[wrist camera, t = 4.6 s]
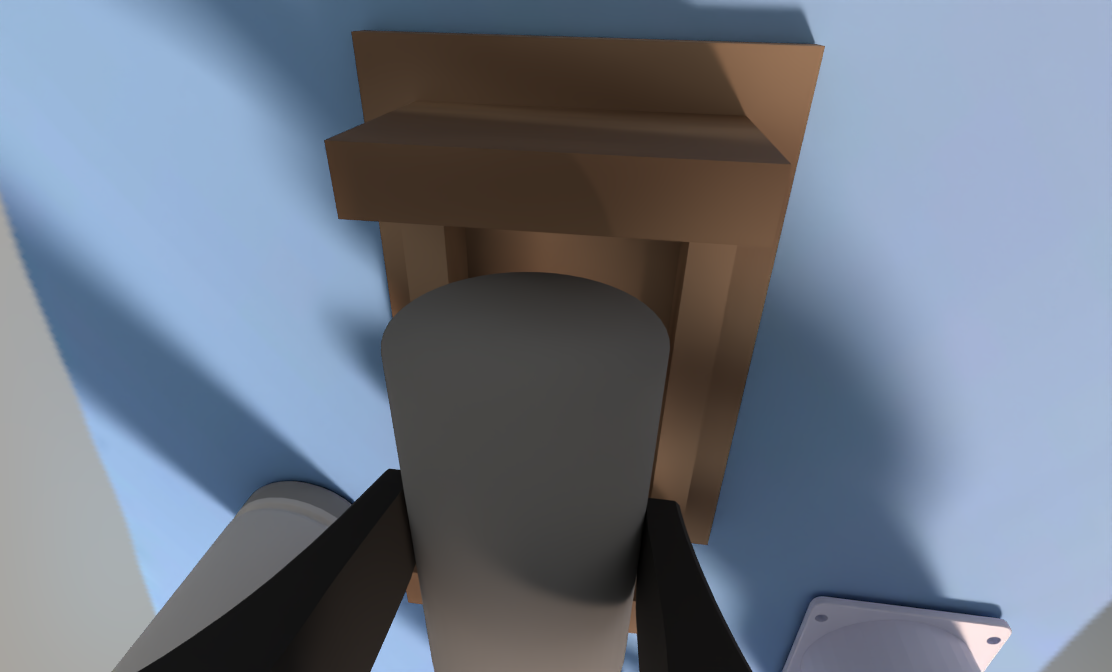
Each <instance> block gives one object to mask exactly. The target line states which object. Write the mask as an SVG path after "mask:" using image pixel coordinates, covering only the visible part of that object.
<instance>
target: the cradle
mask: <svg viewBox="0 0 1112 672" xmlns="http://www.w3.org/2000/svg"><path fill="white" fill-rule="evenodd" d="M351 33H352V40H353V47H354V53H355V60H356V67H357V74H358V81H359V88H360V95H361V102H362V109H363V116H364V123H363V124H361V125H359V126H356V127H354V128H352V129H349V130H347V131H345V132H342V133H340V134H338V135H336V136H333V137H331V138H329V139H326V140H324V142H325V147H326V153H327V158H328V164H329V169H330V175H331V180H332V186H333V191H334V197H335V202H336V208H337V213H338V219H347V220H363V221H378V222H379V226H380V233H381V240H382V247H383V254H384V261H385V268H386V274H387V281H388V288H389V295H390V302H391V309H392V316H393V317H394V316H395V315H396V314H397V313H398V312H399V311H400V310H401V309H402V308H403V307H405V306H406V305H407V304H409V303H410V302H412V301H413V300H414V299H416V298H418V297H420V296H422V295H423V294H425V293H427V292H429V291H432V290H434V289H436V288H438V287H441V286H444V285H447V284H450V283H453V282H456V281H460V280H464V279H468V278H473V277H477V276H483V275H490V274H498V273H509V272H545V273H557V274H564V275H571V276H577V277H582V278H586V279H590V280H594V281H598V282H601V283H604V284H607V285H610V286H612V287H615V288H617V289H620V290H622V291H624V292H626V293H628V294H630V295H632V296H634V297H635V298H637V299H638V300H640V301H641V302H643V303H644V304H646V305H647V306H648V307H649V308H650V309H651V310H653V311H654V312H655V314H656V315H657V316H658V317H659V318H660V319H661V321H662V323H663V324H664V326H665V328H666V330H667V333H668V336H669V341H670V352H669V359H668V366H667V372H666V379H665V386H664V393H663V400H662V406H661V413H660V420H659V427H658V434H657V440H656V447H655V454H654V461H653V468H652V474H651V481H650V488H649V495H648V498H655V499H664V500H673V501H676V502H677V503H678V504H679V505H680V509H681V513H682V516H683V520H684V523H685V526H686V529H687V532H688V535H689V538H690V541H691V543H694V544H703V545H708V540H709V536H710V532H711V528H712V523H713V519H714V515H715V511H716V506H717V502H718V498H719V494H720V489H721V485H722V481H723V477H724V472H725V468H726V464H727V460H728V455H729V451H730V447H731V443H732V439H733V434H734V430H735V426H736V422H737V417H738V413H739V409H740V405H741V400H742V396H743V392H744V388H745V383H746V379H747V375H748V371H749V366H750V362H751V358H752V354H753V349H754V345H755V341H756V337H757V332H758V328H759V324H760V320H761V315H762V311H763V307H764V303H765V298H766V294H767V290H768V286H769V281H770V277H771V273H772V269H773V264H774V260H775V256H776V252H777V248H778V243H779V239H780V235H781V231H782V226H783V222H784V218H785V214H786V209H787V205H788V201H789V197H790V192H791V188H792V184H793V180H794V175H795V171H796V167H797V163H798V158H799V154H800V150H801V146H802V141H803V137H804V133H805V129H806V124H807V120H808V116H809V112H810V107H811V103H812V99H813V95H814V90H815V86H816V82H817V78H818V74H819V69H820V65H821V61H822V57H823V52H824V48H825V46H822V45H818V44H794V43H762V42H729V41H696V40H664V39H631V38H599V37H566V36H533V35H501V34H468V33H436V32H403V31H370V30H362V31H352V32H351ZM636 577H637V576H636ZM406 592H407V598H408V602H409V603H416V604H423V602H422V596H421V590H420V584H419V578H418V572H417V566H416V564H415V567H414V570H413V574H412V577H411V580H410V582H409V584H408V587H407V589H406ZM628 632H629V633H636V634H637V625H636V583H635V590H634V597H633V603H632V610H631V617H630V624H629V631H628Z"/></svg>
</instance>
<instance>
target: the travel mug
mask: <svg viewBox="0 0 1112 672" xmlns="http://www.w3.org/2000/svg"><path fill="white" fill-rule="evenodd" d="M351 505H352V504H350V503H349V502H348V501H347V500H345V499H344V498H342V497H341V496H339V495H337V494H336V493H334V492H332V491H329V490H327V489H325V488H322V487H319V486H316V485H313V484H309V483H304V482H297V481H281V482H276V483H271V484H268V485H266V486H263V487H261V488H259V489H258V490H257V491H255V492H254V493H253V494H252V495H251V497H250V498H249V499H248V500H247V502H246V503H245V504H244V505H243V507H242V508H241V509H240V510H239V512H238V513H237V514H236V516H235V517H234V519H233V520H232V521H231V522H230V523H229V524H228V526H227V527H226V528H225V529H224V531H223V532H222V533H221V534H220V536H219V537H218V538H217V539H216V541H215V542H214V543H213V545H212V546H211V547H210V548H209V550H208V551H207V552H206V553H205V555H204V556H203V557H202V558H201V560H200V561H199V562H198V563H197V565H196V566H195V567H194V568H193V570H192V571H191V572H190V574H189V575H188V576H187V577H186V579H185V580H184V581H183V582H182V584H181V585H180V586H179V587H178V589H177V590H176V591H175V592H174V594H173V595H172V596H171V598H170V599H169V600H168V601H167V603H166V604H165V605H164V606H163V608H162V609H161V610H160V611H159V613H158V614H157V615H156V616H155V618H154V619H153V620H152V622H151V623H150V624H149V625H148V627H147V628H146V629H145V630H144V632H143V633H142V634H141V635H140V637H139V638H138V639H137V640H136V642H135V643H134V644H133V646H132V647H131V648H130V649H129V650H128V652H127V653H126V654H125V656H124V657H123V658H122V660H121V661H120V662H119V663H118V664H117V666H116V667H115V668H114V670H113V671H112V672H138V671H139V670H141V669H143V668H144V667H146V666H148V665H149V664H151V663H152V662H154V661H156V660H157V659H159V658H161V657H162V656H164V655H165V654H167V653H169V652H170V651H172V650H173V649H175V648H176V647H178V646H179V645H181V644H182V643H184V642H185V641H187V640H188V639H190V638H191V637H193V636H194V635H195V634H197V633H198V632H200V631H201V630H203V629H204V628H205V627H207V626H208V625H210V624H211V623H213V622H214V621H215V620H217V619H218V618H220V617H221V616H223V615H224V614H225V613H227V612H228V611H229V610H231V609H232V608H233V607H235V606H236V605H237V604H239V603H240V602H241V601H243V600H244V599H245V598H247V597H248V596H249V595H251V594H252V593H253V592H254V591H256V590H257V589H258V588H259V587H261V586H262V585H263V584H264V583H266V582H267V581H268V580H269V579H271V578H272V577H273V576H274V575H275V574H277V573H278V572H279V571H280V570H281V569H282V568H284V567H285V566H286V565H287V564H288V563H289V562H290V561H292V560H293V559H294V558H295V557H296V556H297V555H299V554H300V553H301V552H302V551H303V550H304V549H306V548H307V547H308V546H309V545H310V544H311V543H312V542H313V541H314V540H315V539H316V538H318V537H319V536H320V535H321V534H322V533H323V532H324V531H325V530H326V529H327V528H328V527H329V526H330V525H331V524H332V523H334V522H335V521H336V520H337V519H338V518H339V517H340V516H341V515H342V514H343V513H344V512H345V511H346V510H347V509H348V508H349V507H350V506H351Z"/></svg>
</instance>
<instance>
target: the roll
mask: <svg viewBox="0 0 1112 672" xmlns="http://www.w3.org/2000/svg"><path fill="white" fill-rule="evenodd" d="M669 352H670V341H669V336H668V333H667V330H666V328H665V326H664V324H663V323H662V321H661V319H660V318H659V317H658V316H657V315H656V314H655V312H654V311H653V310H651V309H650V308H649V307H648V306H647V305H646V304H644V303H643V302H641V301H640V300H638V299H637V298H635V297H634V296H632V295H630V294H628V293H626V292H624V291H622V290H620V289H617V288H615V287H612V286H610V285H607V284H604V283H601V282H598V281H594V280H590V279H586V278H582V277H577V276H571V275H564V274H557V273H545V272H509V273H498V274H490V275H483V276H477V277H473V278H468V279H464V280H460V281H456V282H453V283H450V284H447V285H444V286H441V287H438V288H436V289H434V290H432V291H429V292H427V293H425V294H423V295H422V296H420V297H418V298H416V299H414V300H413V301H412V302H410V303H409V304H407V305H406V306H405V307H403V308H402V309H401V310H400V311H399V312H398V313H397V314H396V315H395V316H394V317H393V318H392V320H391V321H390V322H389V324H388V325H387V327H386V329H385V331H384V333H383V337H382V341H381V356H382V362H383V368H384V374H385V380H386V386H387V392H388V398H389V404H390V410H391V416H392V422H393V428H394V434H395V440H396V446H397V452H398V458H399V464H400V470H401V476H402V482H403V488H404V494H405V500H406V506H407V512H408V518H409V524H410V530H411V536H412V542H413V548H414V554H415V560H416V566H417V572H418V578H419V584H420V590H421V596H422V602H423V608H424V614H425V620H426V626H427V632H428V639H429V645H430V651H431V657H432V662H433V666H434V671H435V672H621V669H622V666H623V663H624V657H625V651H626V644H627V637H628V631H629V624H630V617H631V610H632V603H633V597H634V590H635V583H636V576H637V569H638V562H639V555H640V548H641V541H642V535H643V528H644V521H645V514H646V507H647V502H648V495H649V488H650V481H651V474H652V468H653V461H654V454H655V447H656V440H657V434H658V427H659V420H660V413H661V406H662V400H663V393H664V386H665V379H666V372H667V366H668V359H669Z"/></svg>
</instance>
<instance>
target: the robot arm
mask: <svg viewBox="0 0 1112 672" xmlns="http://www.w3.org/2000/svg"><path fill="white" fill-rule="evenodd" d="M415 564H416V560H415V554H414V548H413V542H412V536H411V530H410V524H409V518H408V512H407V506H406V500H405V494H404V488H403V482H402V476H401V470H396V469H388V470H387V471H385V472H384V473H383V474H382V475H381V476H380V477H379V478H378V479H377V480H376V481H375V482H374V483H373V484H372V485H371V486H370V487H369V488H368V489H367V490H366V491H365V492H364V493H363V494H362V495H361V496H360V497H359V498H358V499H357V500H356V501H355V502H354V503H353V504H352V505H351V506H350V507H349V508H348V509H347V510H346V511H345V512H344V513H343V514H342V515H341V516H340V517H339V518H338V519H337V520H336V521H335V522H334V523H332V524H331V525H330V526H329V527H328V528H327V529H326V530H325V531H324V532H323V533H322V534H321V535H320V536H319V537H318V538H316V539H315V540H314V541H313V542H312V543H311V544H310V545H309V546H308V547H307V548H306V549H304V550H303V551H302V552H301V553H300V554H299V555H297V556H296V557H295V558H294V559H293V560H292V561H290V562H289V563H288V564H287V565H286V566H285V567H284V568H282V569H281V570H280V571H279V572H278V573H277V574H275V575H274V576H273V577H272V578H271V579H269V580H268V581H267V582H266V583H264V584H263V585H262V586H261V587H259V588H258V589H257V590H256V591H254V592H253V593H252V594H251V595H249V596H248V597H247V598H245V599H244V600H243V601H241V602H240V603H239V604H237V605H236V606H235V607H233V608H232V609H231V610H229V611H228V612H227V613H225V614H224V615H223V616H221V617H220V618H218V619H217V620H215V621H214V622H213V623H211V624H210V625H208V626H207V627H205V628H204V629H203V630H201V631H200V632H198V633H197V634H195V635H194V636H193V637H191V638H190V639H188V640H187V641H185V642H184V643H182V644H181V645H179V646H178V647H176V648H175V649H173V650H172V651H170V652H169V653H167V654H165V655H164V656H162V657H161V658H159V659H157V660H156V661H154V662H152V663H151V664H149V665H148V666H146V667H144V668H143V669H141V670H139V671H138V672H370V671H371V669H372V667H373V665H374V662H375V660H376V658H377V656H378V653H379V651H380V649H381V646H382V644H383V642H384V640H385V637H386V635H387V633H388V631H389V628H390V626H391V624H392V621H393V619H394V617H395V615H396V612H397V610H398V608H399V605H400V603H401V601H402V598H403V596H404V594H405V592H406V589H407V587H408V584H409V582H410V580H411V577H412V574H413V570H414V567H415ZM636 625H637V640H638V656H639V671H640V672H752V670H751V668H750V666H749V665H748V663H747V661H746V659H745V657H744V656H743V654H742V652H741V650H740V648H739V646H738V645H737V643H736V641H735V639H734V637H733V635H732V633H731V631H730V629H729V627H728V625H727V623H726V621H725V619H724V617H723V615H722V613H721V611H720V609H719V607H718V605H717V603H716V601H715V598H714V596H713V594H712V592H711V589H710V587H709V585H708V583H707V581H706V578H705V576H704V574H703V571H702V569H701V567H700V564H699V562H698V559H697V557H696V554H695V551H694V549H693V546H692V544H691V541H690V538H689V535H688V532H687V529H686V526H685V523H684V520H683V516H682V513H681V509H680V505H679V504H678V503H677V502H676V501H673V500H664V499H655V498H648V502H647V507H646V514H645V521H644V528H643V535H642V541H641V548H640V555H639V562H638V569H637V577H636ZM1011 633H1012V630H1011V628H1010V626H1009V625H1008V623H1007V622H1006V621H1005V620H1003V619H999V618H992V617H984V616H976V615H968V614H960V613H952V612H944V611H936V610H928V609H920V608H913V607H905V606H897V605H889V604H881V603H873V602H865V601H857V600H849V599H841V598H833V597H825V596H820V597H816V598H814V599H813V600H812V601H811V602H810V604H809V607H808V609H807V612H806V614H805V617H804V619H803V622H802V624H801V626H800V629H799V631H798V634H797V636H796V639H795V641H794V644H793V646H792V649H791V651H790V654H789V656H788V659H787V661H786V663H785V666H784V668H783V671H782V672H984V670H985V669H986V668H987V666H988V665H989V664H990V662H991V661H992V659H993V658H994V657H995V655H996V654H997V653H998V651H999V650H1000V649H1001V647H1002V646H1003V644H1004V643H1005V642H1006V640H1007V639H1008V638H1009V636H1010V635H1011Z"/></svg>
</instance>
